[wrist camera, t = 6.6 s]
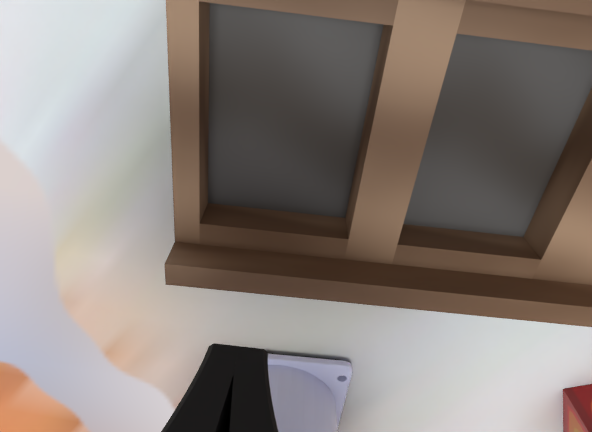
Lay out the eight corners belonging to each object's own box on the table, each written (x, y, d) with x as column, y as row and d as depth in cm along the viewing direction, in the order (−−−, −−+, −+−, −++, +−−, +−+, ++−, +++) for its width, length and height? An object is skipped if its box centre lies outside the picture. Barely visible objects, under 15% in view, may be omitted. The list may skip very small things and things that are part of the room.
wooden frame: (746, 293, 21) (820, 349, 18) (187, 235, 20) (165, 284, 17) (970, 26, 15) (1139, 43, 12) (180, -78, 14) (145, -88, 11)
